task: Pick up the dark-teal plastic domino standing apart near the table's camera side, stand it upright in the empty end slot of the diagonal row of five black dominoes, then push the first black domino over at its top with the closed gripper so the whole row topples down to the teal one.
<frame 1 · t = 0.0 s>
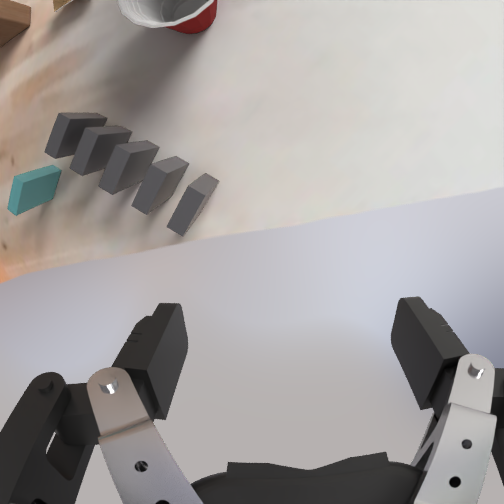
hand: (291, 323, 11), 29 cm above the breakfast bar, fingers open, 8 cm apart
domino 2: (173, 176, 38), on the breakfast bar
domino 1: (202, 193, 39), on the breakfast bar
plastic cup: (194, 17, 30), on the breakfast bar
wooden block: (14, 28, 28), on the breakfast bar
domino 6: (52, 182, 39), on the breakfast bar
domino 5: (94, 131, 36), on the breakfast bar
domino 3: (144, 160, 37), on the breakfast bar
domino 4: (118, 145, 37), on the breakfast bar
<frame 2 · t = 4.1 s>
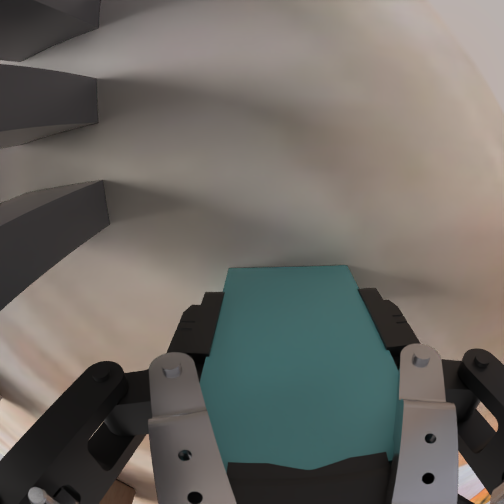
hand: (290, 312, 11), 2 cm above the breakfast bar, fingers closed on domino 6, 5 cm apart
wooden block: (95, 471, 24), on the breakfast bar
domino 6: (288, 287, 13), on the breakfast bar, touching gripper
domino 5: (63, 207, 12), on the breakfast bar
domino 3: (56, 27, 9), on the breakfast bar
domino 4: (53, 113, 11), on the breakfast bar
when the fingers open (3 cm above the breakfast bar, at t = 8.9 s): domino 6 stays where it is, on the breakfast bar.
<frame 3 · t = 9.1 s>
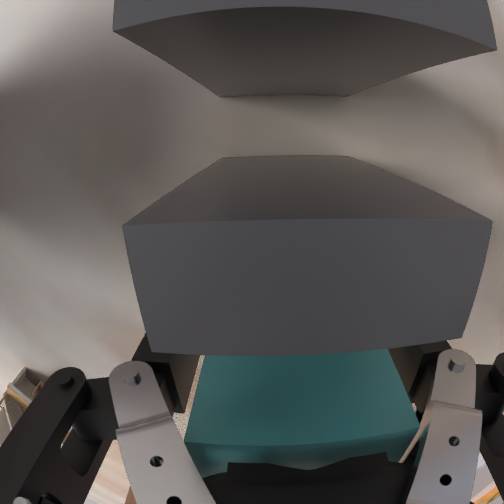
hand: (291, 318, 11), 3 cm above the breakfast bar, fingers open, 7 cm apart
domino 6: (286, 280, 14), on the breakfast bar
architectural model: (53, 387, 20), on the breakfast bar
domino 5: (285, 180, 12), on the breakfast bar
domino 4: (283, 71, 10), on the breakfast bar
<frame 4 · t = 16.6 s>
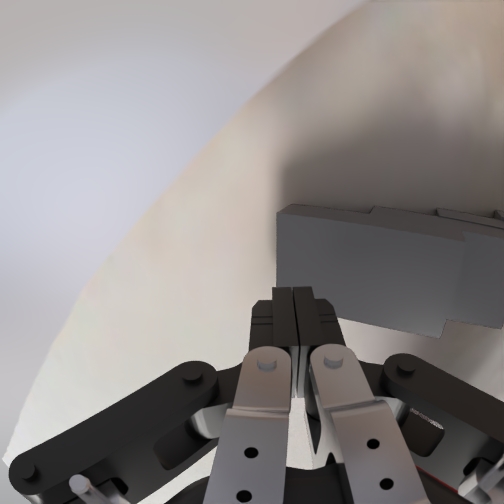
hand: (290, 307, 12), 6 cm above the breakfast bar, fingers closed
domino 2: (367, 254, 16), point 1 cm above the breakfast bar, tilted 64°, touching domino 1, domino 3
domino 1: (284, 253, 16), point 1 cm above the breakfast bar, tilted 64°, touching domino 2
domino 3: (431, 252, 16), point 1 cm above the breakfast bar, tilted 64°, touching domino 2
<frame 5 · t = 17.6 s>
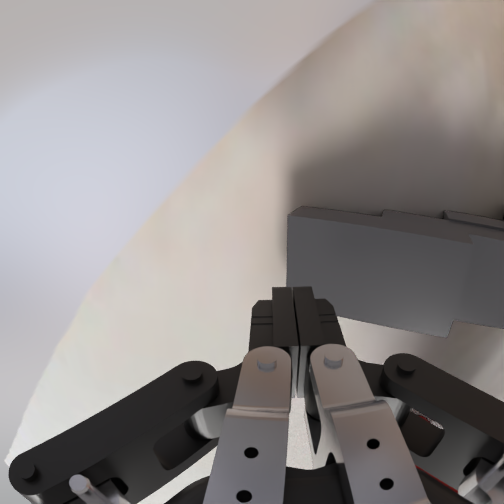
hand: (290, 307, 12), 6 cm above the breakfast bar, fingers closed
domino 2: (377, 256, 16), point 1 cm above the breakfast bar, tilted 64°, touching domino 1, domino 3
domino 1: (294, 255, 17), point 1 cm above the breakfast bar, tilted 64°, touching domino 2
domino 3: (440, 253, 16), point 1 cm above the breakfast bar, tilted 66°, touching domino 2
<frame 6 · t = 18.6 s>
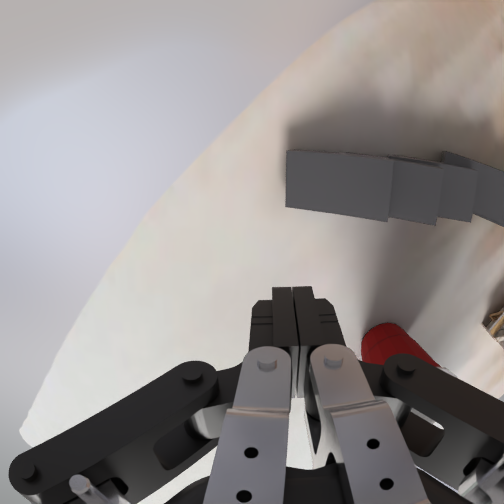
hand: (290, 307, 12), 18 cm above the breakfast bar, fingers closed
domino 2: (343, 180, 27), point 1 cm above the breakfast bar, tilted 65°
domino 1: (289, 177, 27), point 1 cm above the breakfast bar, tilted 65°
plastic cup: (380, 338, 35), on the breakfast bar
architectural model: (493, 310, 34), on the breakfast bar
domino 3: (386, 180, 27), point 1 cm above the breakfast bar, tilted 68°
domino 4: (440, 174, 26), point 1 cm above the breakfast bar, tilted 65°, touching domino 5
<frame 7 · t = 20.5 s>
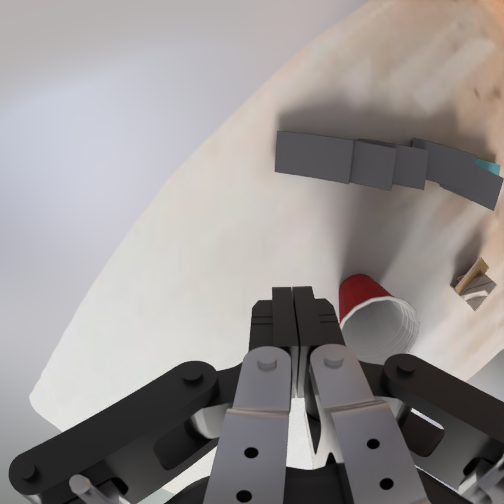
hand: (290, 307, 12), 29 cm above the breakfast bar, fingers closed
domino 2: (322, 155, 36), point 1 cm above the breakfast bar, tilted 65°, touching domino 3
domino 1: (279, 151, 36), point 1 cm above the breakfast bar, tilted 66°
plastic cup: (355, 289, 44), on the breakfast bar
domino 6: (453, 169, 36), on the breakfast bar, tilted 90°, touching domino 5
architectural model: (460, 274, 43), on the breakfast bar
domino 5: (446, 170, 35), point 2 cm above the breakfast bar, tilted 73°, touching domino 4, domino 6
domino 3: (357, 157, 36), point 1 cm above the breakfast bar, tilted 72°, touching domino 2, domino 4
domino 4: (410, 156, 35), point 1 cm above the breakfast bar, tilted 62°, touching domino 3, domino 5
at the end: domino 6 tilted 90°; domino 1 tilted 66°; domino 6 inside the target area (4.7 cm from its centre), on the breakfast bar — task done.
